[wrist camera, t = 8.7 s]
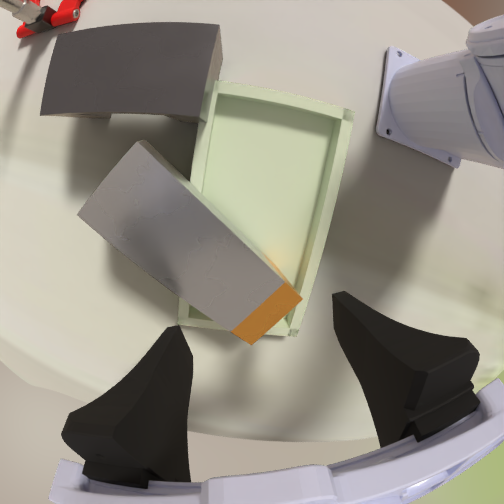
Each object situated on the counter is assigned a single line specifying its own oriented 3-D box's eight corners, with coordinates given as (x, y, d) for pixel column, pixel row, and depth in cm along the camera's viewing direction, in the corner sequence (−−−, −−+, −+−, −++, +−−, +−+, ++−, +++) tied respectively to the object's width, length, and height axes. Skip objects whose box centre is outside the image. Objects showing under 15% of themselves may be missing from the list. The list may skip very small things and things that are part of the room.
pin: (145, 139, 15) (137, 141, 11) (277, 267, 21) (303, 299, 17) (97, 194, 15) (77, 214, 11) (234, 306, 22) (251, 345, 18)
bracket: (222, 58, 16) (219, 24, 10) (209, 124, 17) (199, 116, 12) (100, 56, 14) (57, 34, 9) (87, 118, 16) (40, 115, 10)
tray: (343, 113, 18) (354, 111, 16) (291, 322, 24) (296, 336, 22) (209, 85, 16) (207, 79, 14) (181, 310, 23) (177, 324, 21)
